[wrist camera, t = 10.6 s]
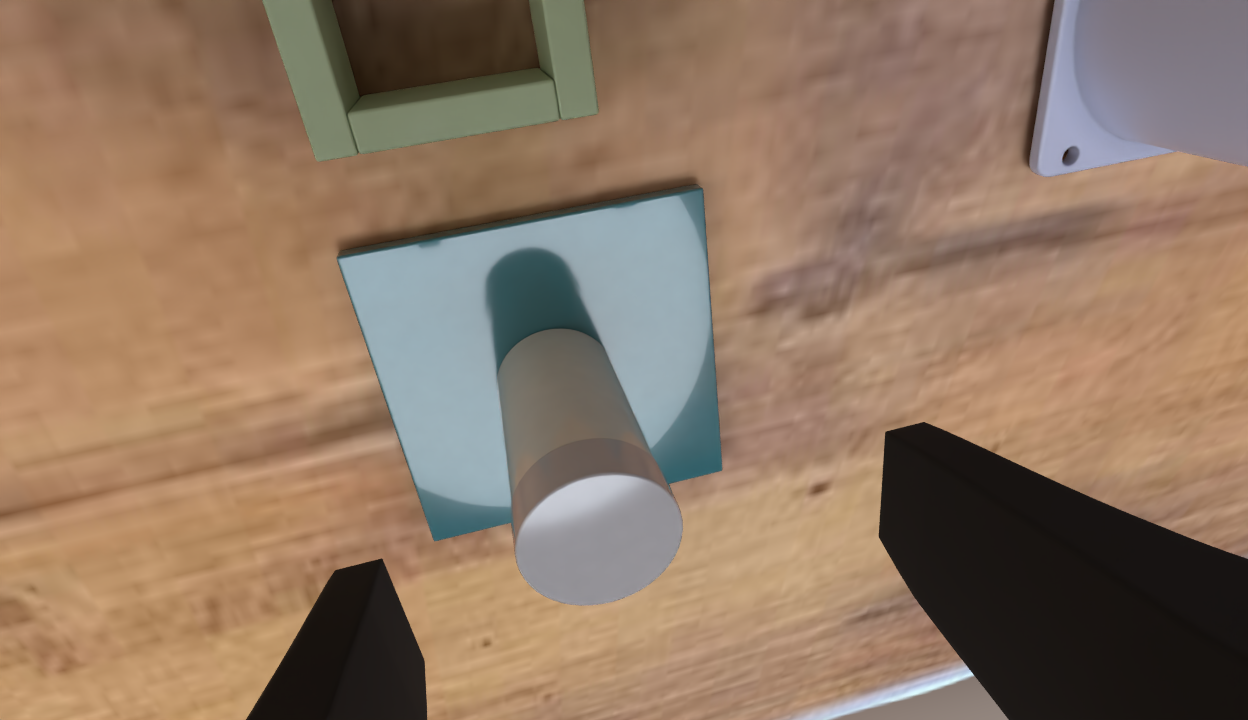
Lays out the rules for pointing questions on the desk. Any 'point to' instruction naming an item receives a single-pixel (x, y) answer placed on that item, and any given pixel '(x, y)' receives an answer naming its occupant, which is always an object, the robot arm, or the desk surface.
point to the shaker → (581, 474)
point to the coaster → (526, 304)
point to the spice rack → (436, 109)
